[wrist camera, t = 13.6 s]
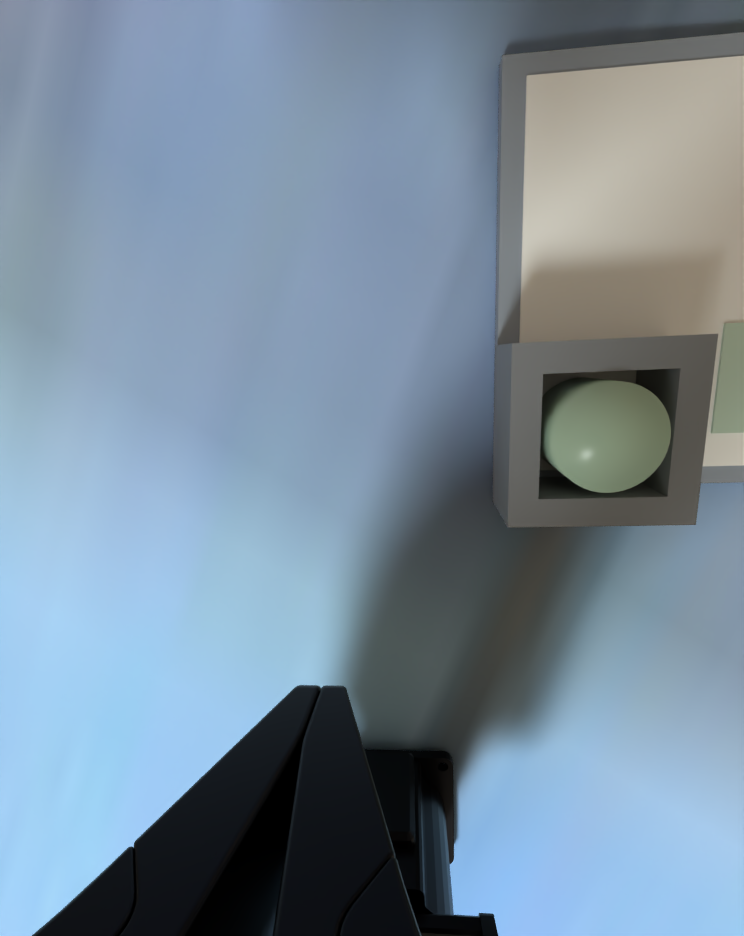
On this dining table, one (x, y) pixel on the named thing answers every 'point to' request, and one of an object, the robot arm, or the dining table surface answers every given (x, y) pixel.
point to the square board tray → (621, 264)
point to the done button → (603, 433)
